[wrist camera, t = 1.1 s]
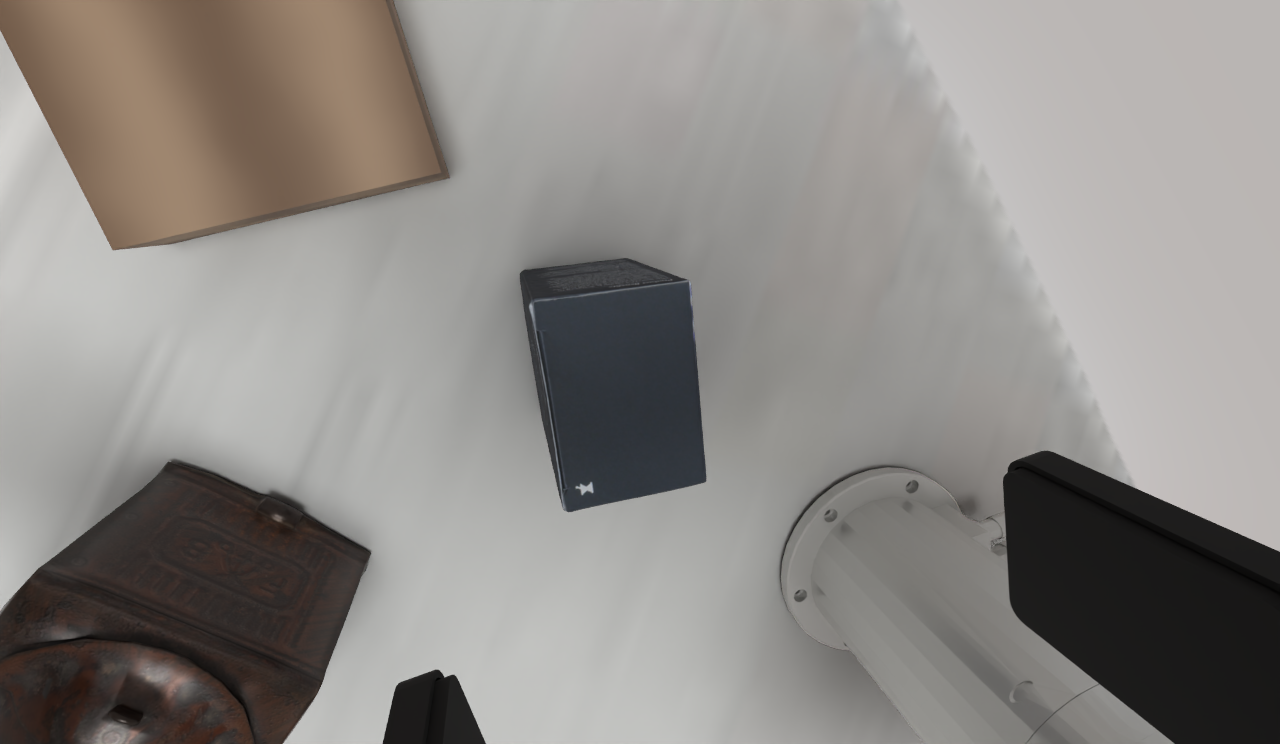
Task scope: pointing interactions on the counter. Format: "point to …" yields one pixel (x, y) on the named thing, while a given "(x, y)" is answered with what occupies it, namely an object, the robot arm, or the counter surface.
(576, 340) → the box
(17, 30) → the base
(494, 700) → the counter surface
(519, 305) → the counter surface
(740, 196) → the counter surface
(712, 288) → the counter surface
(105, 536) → the antique coffee grinder
